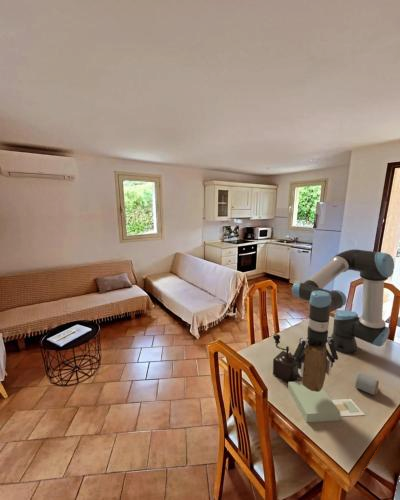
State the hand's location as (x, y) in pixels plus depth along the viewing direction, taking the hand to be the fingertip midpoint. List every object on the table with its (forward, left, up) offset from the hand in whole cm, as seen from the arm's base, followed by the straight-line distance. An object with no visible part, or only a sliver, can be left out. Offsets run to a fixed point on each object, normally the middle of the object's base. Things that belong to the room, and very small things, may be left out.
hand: (313, 373), depth 96 cm
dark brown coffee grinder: (+5, -20, -15) cm, 26 cm away
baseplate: (0, 0, -15) cm, 15 cm away
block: (0, 0, -5) cm, 5 cm away
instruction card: (-14, +3, -15) cm, 21 cm away
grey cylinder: (-31, -7, -15) cm, 35 cm away
